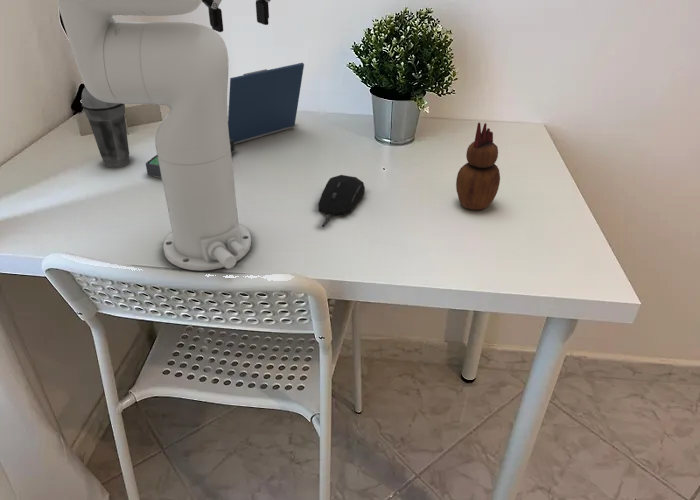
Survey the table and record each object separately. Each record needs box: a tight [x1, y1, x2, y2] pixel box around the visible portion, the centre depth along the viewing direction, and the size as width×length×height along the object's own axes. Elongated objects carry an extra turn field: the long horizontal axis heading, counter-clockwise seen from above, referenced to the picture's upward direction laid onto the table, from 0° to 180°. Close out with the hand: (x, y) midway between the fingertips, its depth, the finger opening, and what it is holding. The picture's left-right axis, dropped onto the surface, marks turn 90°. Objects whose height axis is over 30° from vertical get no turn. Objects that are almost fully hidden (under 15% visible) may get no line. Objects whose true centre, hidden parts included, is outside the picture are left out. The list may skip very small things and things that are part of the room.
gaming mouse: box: [317, 174, 366, 228], centre depth 96 cm, size 6×15×4 cm, turn 162°
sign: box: [227, 62, 305, 145], centre depth 116 cm, size 15×16×5 cm
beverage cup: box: [81, 86, 131, 169], centre depth 104 cm, size 7×7×20 cm
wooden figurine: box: [455, 122, 501, 211], centre depth 93 cm, size 7×6×15 cm
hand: (240, 27), depth 110 cm, fingers open, 9 cm apart
